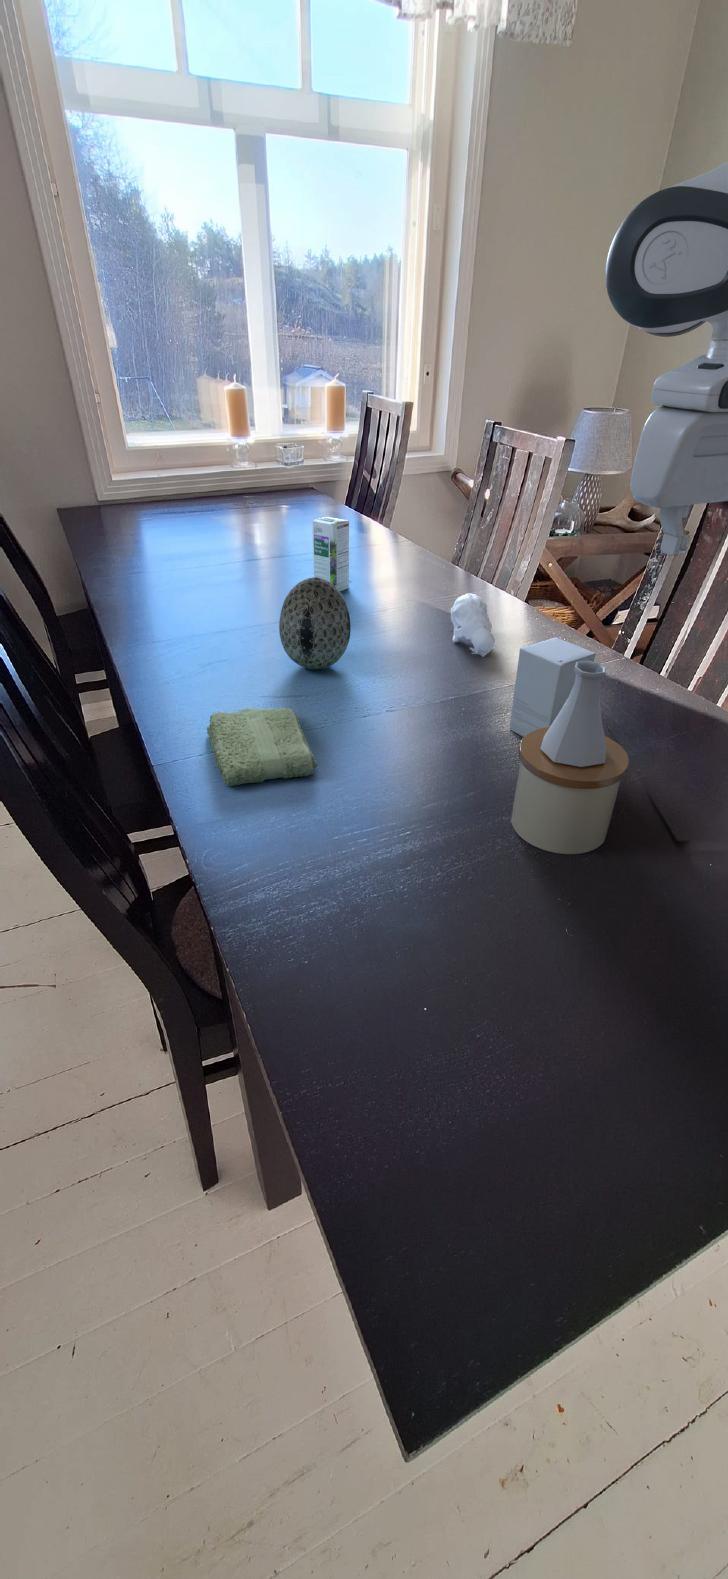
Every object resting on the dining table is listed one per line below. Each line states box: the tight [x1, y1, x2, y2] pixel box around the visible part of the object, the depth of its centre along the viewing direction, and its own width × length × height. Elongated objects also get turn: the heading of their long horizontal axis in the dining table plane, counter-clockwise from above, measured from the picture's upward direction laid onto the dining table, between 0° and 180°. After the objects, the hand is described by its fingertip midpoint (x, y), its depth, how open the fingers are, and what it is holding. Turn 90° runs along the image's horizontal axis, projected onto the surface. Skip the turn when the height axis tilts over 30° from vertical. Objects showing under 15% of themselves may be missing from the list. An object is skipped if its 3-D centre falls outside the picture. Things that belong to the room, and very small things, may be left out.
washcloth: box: [206, 707, 318, 787], centre depth 93 cm, size 13×18×3 cm
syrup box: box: [312, 516, 350, 593], centre depth 147 cm, size 6×6×14 cm
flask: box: [540, 661, 607, 767], centre depth 73 cm, size 7×7×10 cm
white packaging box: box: [508, 636, 597, 738], centre depth 96 cm, size 7×7×13 cm
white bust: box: [450, 592, 496, 658], centre depth 123 cm, size 6×8×12 cm
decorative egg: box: [278, 576, 352, 671], centre depth 113 cm, size 12×12×15 cm
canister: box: [510, 727, 630, 855], centre depth 79 cm, size 12×12×10 cm
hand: (709, 548), depth 66 cm, fingers open, 8 cm apart
